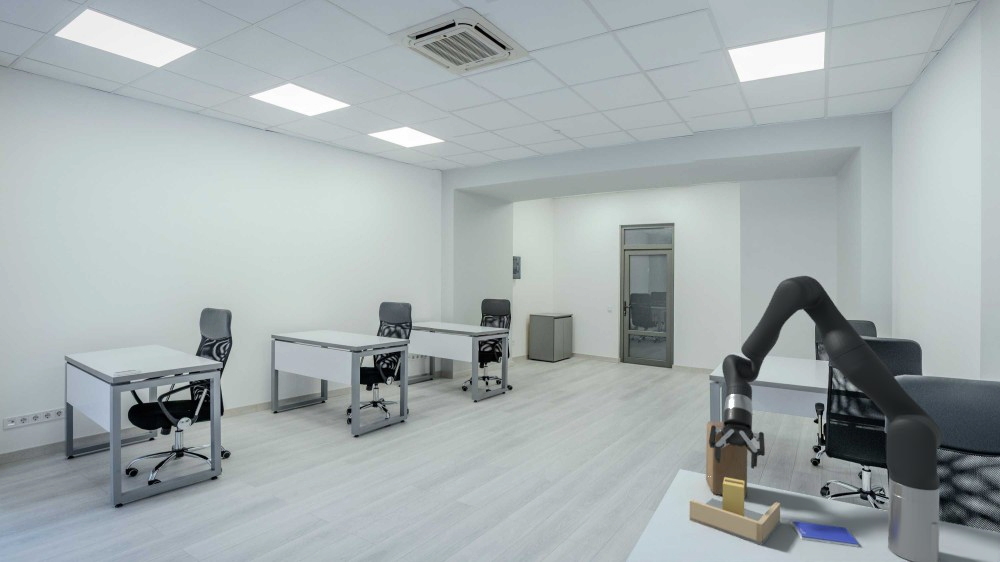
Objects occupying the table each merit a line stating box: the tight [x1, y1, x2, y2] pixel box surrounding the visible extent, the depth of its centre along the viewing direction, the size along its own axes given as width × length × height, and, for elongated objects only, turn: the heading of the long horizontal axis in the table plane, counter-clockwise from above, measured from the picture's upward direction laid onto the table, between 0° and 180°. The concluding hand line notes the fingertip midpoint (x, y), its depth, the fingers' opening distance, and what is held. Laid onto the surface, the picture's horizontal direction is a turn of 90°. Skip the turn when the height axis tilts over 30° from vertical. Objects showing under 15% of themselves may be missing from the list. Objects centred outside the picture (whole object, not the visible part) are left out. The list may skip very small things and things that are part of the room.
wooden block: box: [705, 420, 748, 498], centre depth 152 cm, size 10×10×20 cm
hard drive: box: [791, 520, 859, 548], centre depth 126 cm, size 2×8×12 cm
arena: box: [689, 498, 781, 546], centre depth 133 cm, size 18×16×5 cm
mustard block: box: [722, 477, 745, 516], centre depth 132 cm, size 5×5×10 cm
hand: (735, 464), depth 136 cm, fingers open, 8 cm apart
